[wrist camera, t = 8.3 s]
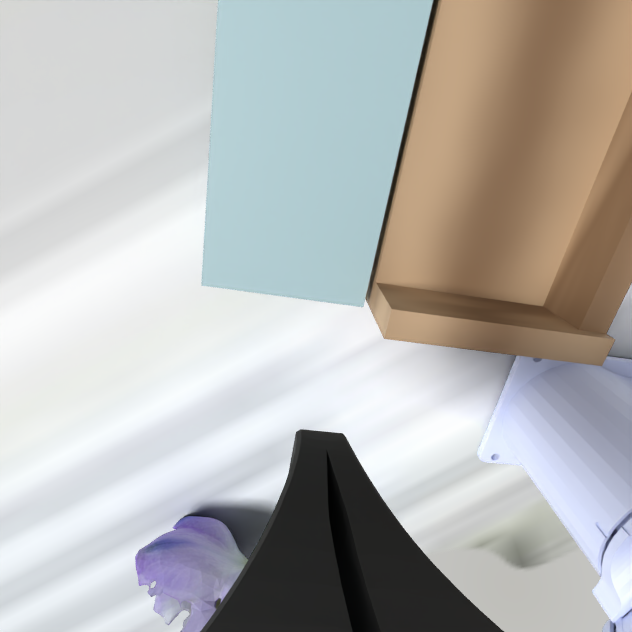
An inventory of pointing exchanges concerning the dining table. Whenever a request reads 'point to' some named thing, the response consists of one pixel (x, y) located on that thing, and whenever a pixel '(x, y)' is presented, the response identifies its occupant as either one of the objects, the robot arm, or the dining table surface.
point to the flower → (190, 569)
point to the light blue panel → (306, 141)
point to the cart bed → (513, 182)
